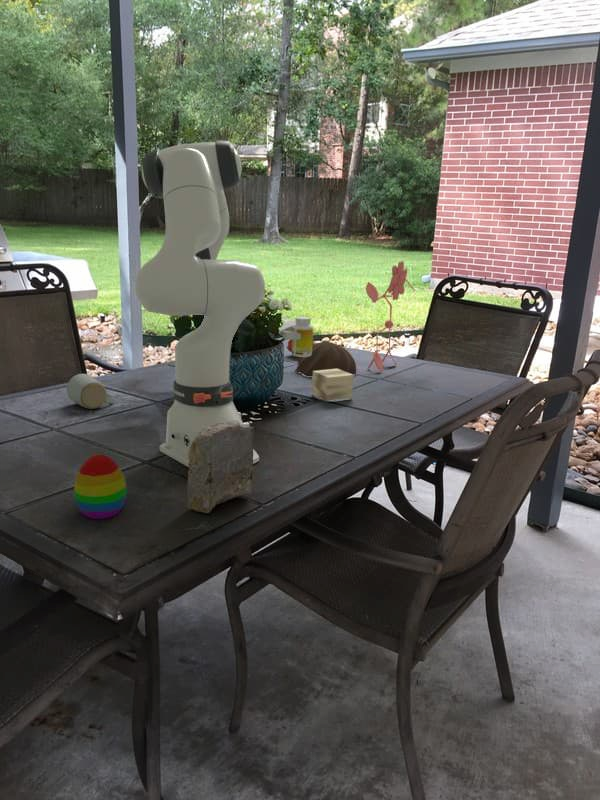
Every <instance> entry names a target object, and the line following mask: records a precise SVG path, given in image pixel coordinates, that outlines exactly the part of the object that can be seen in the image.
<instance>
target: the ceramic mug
mask: <svg viewBox="0 0 600 800" xmlns="http://www.w3.org/2000/svg"><path fill="white" fill-rule="evenodd" d="M66 394H67V396H68V398H69V399H70V401H72V402H73V403H75V404H77V405H79V406H81V407H82V408H85V409H89V410H93V409H94V410H95V409H98V408H99V407H101V406H102V405H103V404H104V403H108V404H110V405H111V404H114V402H115V400H116V397H114V396H113V395H111V394H108V393H107V389H106V388H105V386H104V384H103V383H102V382H100V381H99V380H97V379H95V378H94V377H93V376H91V375H89V374H87V373H78V374H76V375H74V376H72V377H71V378H70V380H69V381H68V383H67V386H66Z"/></svg>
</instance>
